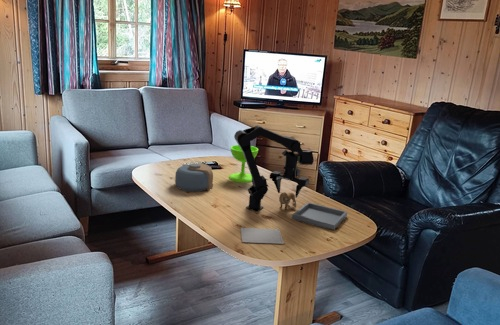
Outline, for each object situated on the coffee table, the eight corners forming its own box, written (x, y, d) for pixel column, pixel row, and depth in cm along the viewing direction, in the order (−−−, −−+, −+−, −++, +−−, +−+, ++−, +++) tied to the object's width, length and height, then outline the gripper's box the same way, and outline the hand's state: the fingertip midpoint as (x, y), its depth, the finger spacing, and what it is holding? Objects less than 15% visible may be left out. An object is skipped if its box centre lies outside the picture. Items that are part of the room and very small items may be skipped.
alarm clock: (217, 191, 234) (218, 169, 231) (179, 193, 227) (180, 170, 223) (206, 180, 251) (208, 159, 248) (171, 181, 244) (172, 160, 241)
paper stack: (239, 220, 199) (239, 219, 199) (294, 222, 201) (294, 221, 201) (242, 243, 177) (242, 242, 177) (304, 246, 179) (304, 244, 179)
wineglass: (225, 174, 264) (227, 144, 259) (251, 174, 269) (253, 145, 264) (232, 183, 249) (234, 151, 244) (259, 182, 254) (262, 151, 249)
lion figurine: (285, 212, 212) (287, 194, 209) (275, 210, 214) (277, 192, 212) (297, 204, 224) (299, 187, 222) (288, 201, 227) (289, 185, 224)
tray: (333, 230, 196) (334, 225, 195) (291, 219, 204) (292, 214, 204) (346, 216, 213) (347, 211, 212) (307, 206, 222) (308, 202, 221)
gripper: (315, 164, 215) (311, 195, 219) (280, 157, 223) (277, 187, 227) (306, 169, 206) (303, 201, 210) (270, 161, 214) (267, 192, 218)
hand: (287, 195), depth 216 cm, fingers open, 9 cm apart
